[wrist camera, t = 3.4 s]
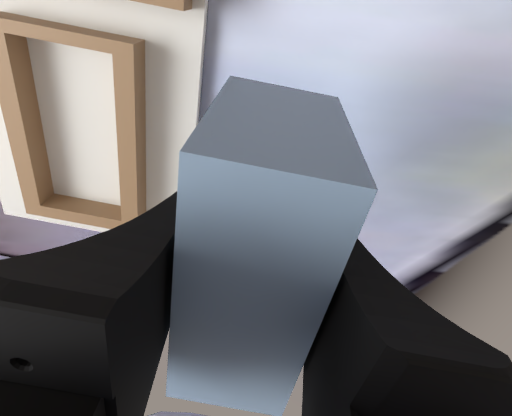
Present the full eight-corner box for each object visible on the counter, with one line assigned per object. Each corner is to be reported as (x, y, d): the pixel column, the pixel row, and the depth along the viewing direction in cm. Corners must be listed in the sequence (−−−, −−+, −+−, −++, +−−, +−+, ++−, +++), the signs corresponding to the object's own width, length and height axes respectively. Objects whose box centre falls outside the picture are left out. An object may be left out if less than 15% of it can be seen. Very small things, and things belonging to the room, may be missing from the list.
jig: (188, 242, 24) (180, 262, 23) (10, 209, 24) (-12, 226, 22) (223, -190, 13) (212, -217, 11) (-117, -262, 13) (-182, -302, 11)
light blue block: (284, 276, 15) (281, 416, 10) (206, 261, 15) (165, 396, 10) (337, 97, 11) (377, 190, 6) (230, 75, 11) (179, 150, 6)
